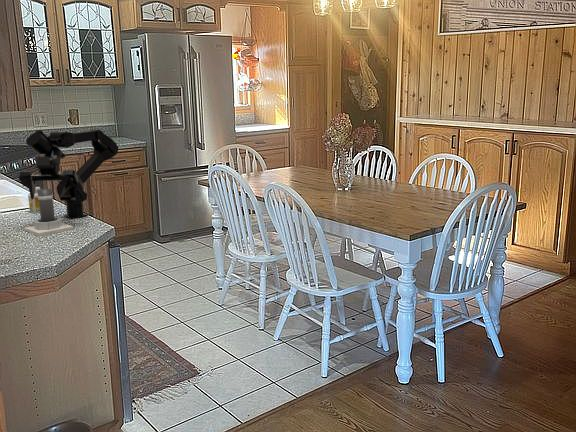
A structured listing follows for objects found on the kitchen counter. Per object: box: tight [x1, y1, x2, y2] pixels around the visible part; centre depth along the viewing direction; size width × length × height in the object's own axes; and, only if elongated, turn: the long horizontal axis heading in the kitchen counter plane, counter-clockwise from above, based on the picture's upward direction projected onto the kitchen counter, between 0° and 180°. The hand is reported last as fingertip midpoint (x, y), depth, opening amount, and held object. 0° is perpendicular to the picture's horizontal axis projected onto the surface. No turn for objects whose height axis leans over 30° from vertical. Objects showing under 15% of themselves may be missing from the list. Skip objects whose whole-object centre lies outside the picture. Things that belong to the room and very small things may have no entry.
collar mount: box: [23, 216, 74, 237], centre depth 203 cm, size 12×12×4 cm
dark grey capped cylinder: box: [37, 188, 56, 222], centre depth 201 cm, size 5×5×13 cm
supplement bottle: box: [27, 186, 41, 214], centre depth 232 cm, size 5×5×10 cm
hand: (45, 198), depth 201 cm, fingers open, 9 cm apart
